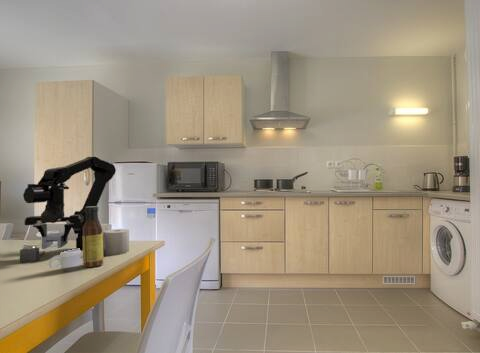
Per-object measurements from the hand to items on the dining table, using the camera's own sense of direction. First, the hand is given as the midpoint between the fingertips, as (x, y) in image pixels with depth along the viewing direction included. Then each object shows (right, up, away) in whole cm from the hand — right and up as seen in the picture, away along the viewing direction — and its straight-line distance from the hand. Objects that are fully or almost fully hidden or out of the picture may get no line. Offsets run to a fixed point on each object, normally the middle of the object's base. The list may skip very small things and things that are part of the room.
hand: (55, 242), depth 118 cm
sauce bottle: (+21, -5, -13) cm, 25 cm away
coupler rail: (-6, -5, -2) cm, 8 cm away
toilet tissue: (+21, -5, +4) cm, 22 cm away
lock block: (0, -1, 0) cm, 1 cm away
